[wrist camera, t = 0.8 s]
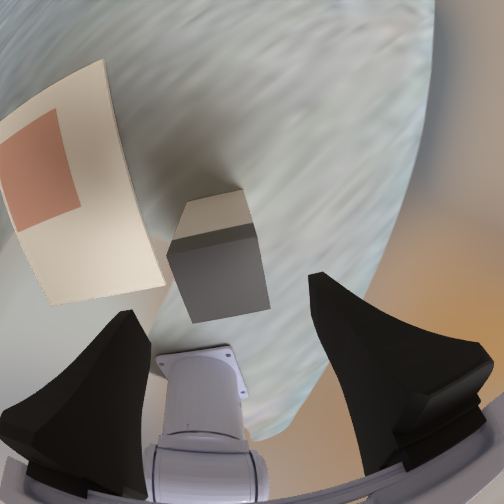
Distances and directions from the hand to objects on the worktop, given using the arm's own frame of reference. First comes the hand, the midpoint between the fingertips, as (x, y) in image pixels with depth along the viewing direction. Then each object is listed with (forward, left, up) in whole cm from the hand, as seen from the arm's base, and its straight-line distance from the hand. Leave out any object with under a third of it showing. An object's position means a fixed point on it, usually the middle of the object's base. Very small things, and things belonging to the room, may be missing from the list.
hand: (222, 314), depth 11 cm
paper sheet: (+5, +12, -10) cm, 16 cm away
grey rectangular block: (0, 0, -10) cm, 10 cm away
